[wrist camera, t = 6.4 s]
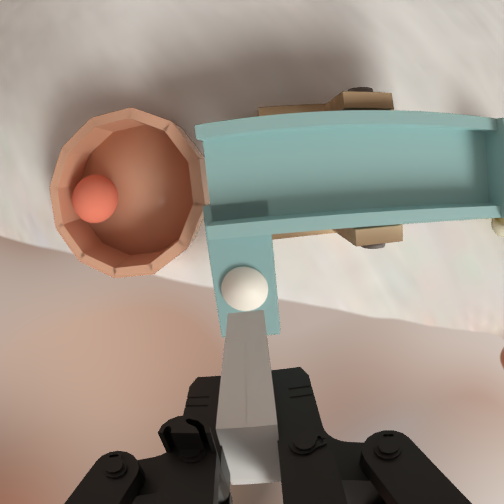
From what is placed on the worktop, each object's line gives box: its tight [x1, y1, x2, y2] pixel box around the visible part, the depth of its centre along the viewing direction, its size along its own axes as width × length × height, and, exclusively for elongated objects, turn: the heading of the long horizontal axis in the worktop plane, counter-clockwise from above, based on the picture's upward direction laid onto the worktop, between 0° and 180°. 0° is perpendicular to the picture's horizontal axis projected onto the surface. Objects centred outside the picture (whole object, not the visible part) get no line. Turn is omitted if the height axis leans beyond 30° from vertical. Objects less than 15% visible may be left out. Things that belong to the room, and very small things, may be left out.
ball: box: [72, 175, 118, 223], centre depth 24 cm, size 4×4×4 cm
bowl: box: [50, 108, 210, 278], centre depth 24 cm, size 13×13×4 cm
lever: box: [195, 110, 504, 337], centre depth 18 cm, size 14×20×3 cm
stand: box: [258, 87, 403, 249], centre depth 22 cm, size 11×12×9 cm
